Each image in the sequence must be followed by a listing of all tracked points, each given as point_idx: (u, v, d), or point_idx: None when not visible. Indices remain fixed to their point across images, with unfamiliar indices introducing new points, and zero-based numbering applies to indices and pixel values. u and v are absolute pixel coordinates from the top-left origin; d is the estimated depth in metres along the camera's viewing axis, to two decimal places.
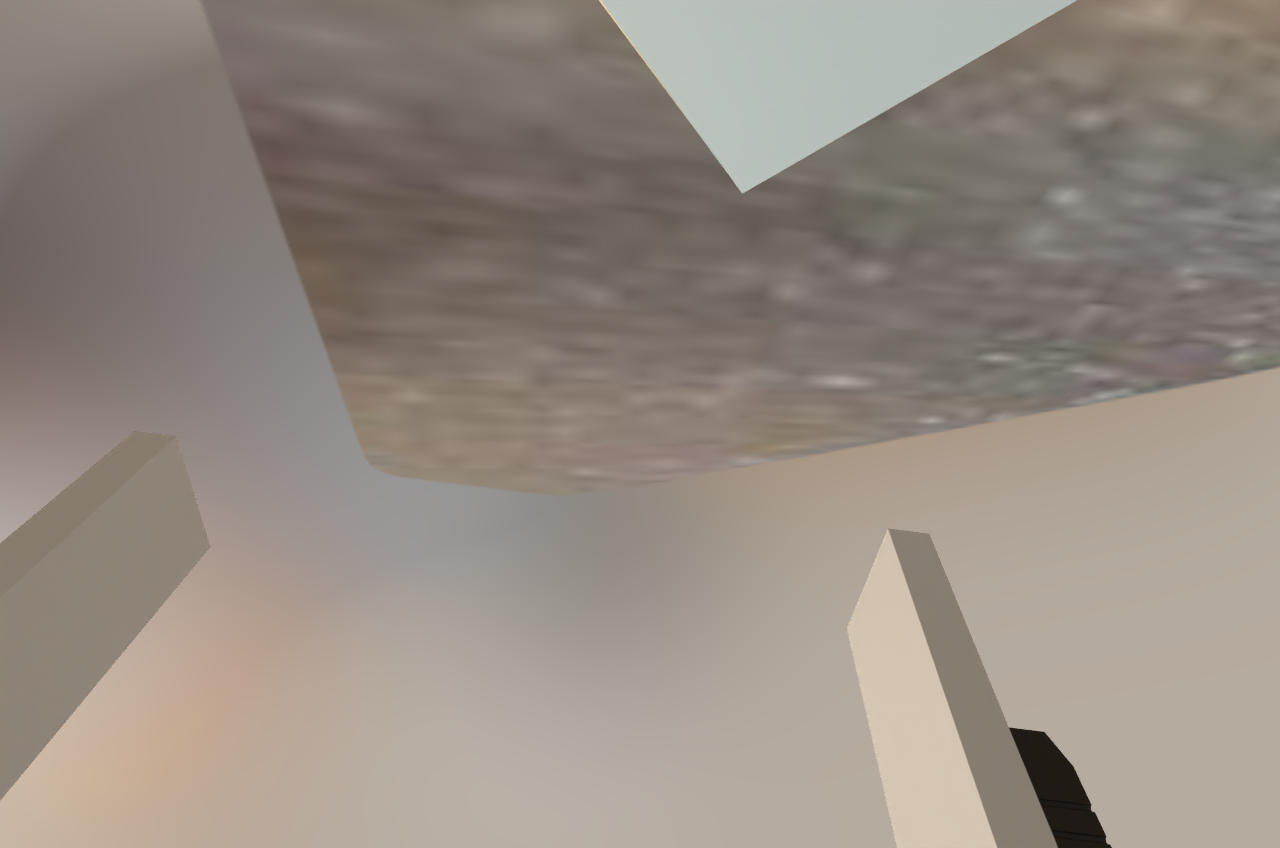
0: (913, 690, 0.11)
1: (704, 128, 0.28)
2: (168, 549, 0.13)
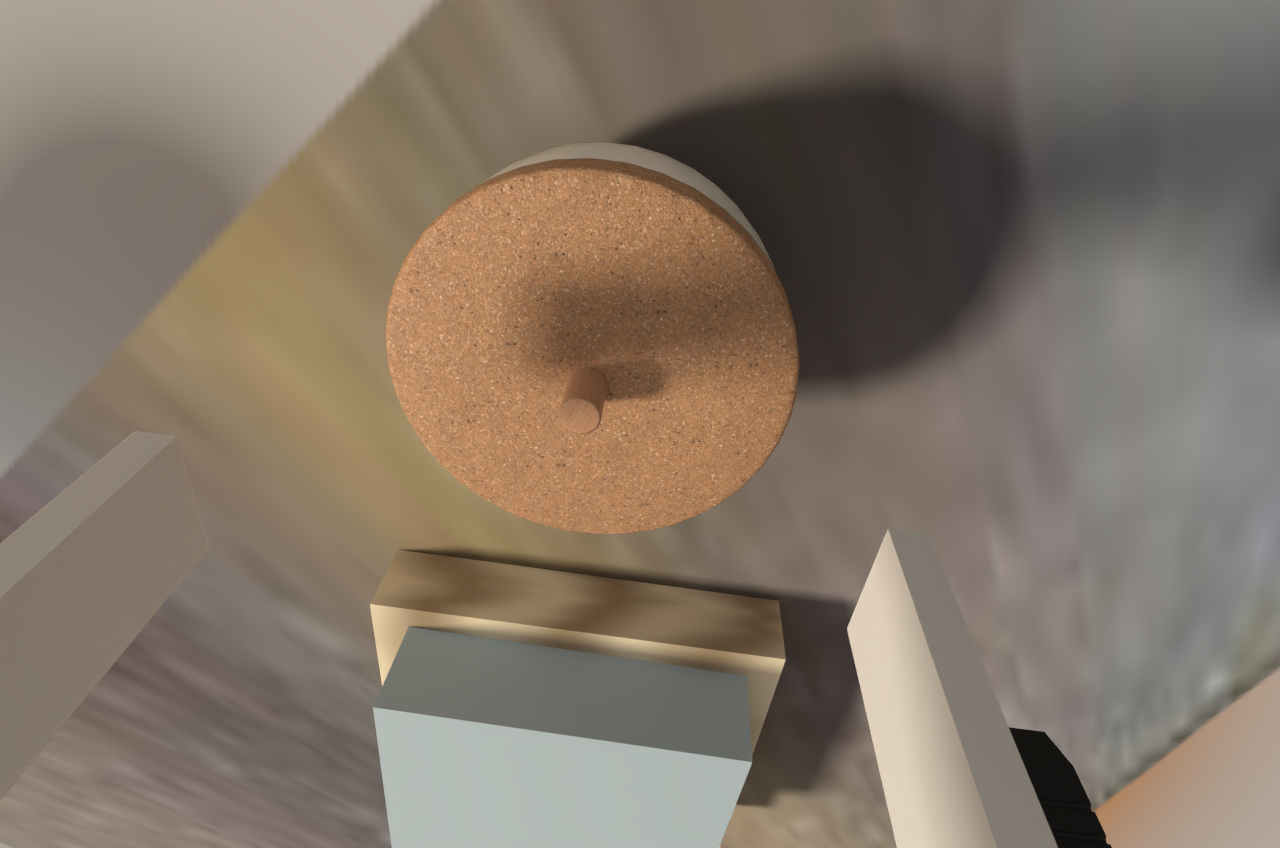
0: (913, 689, 0.11)
1: None
2: (168, 549, 0.13)
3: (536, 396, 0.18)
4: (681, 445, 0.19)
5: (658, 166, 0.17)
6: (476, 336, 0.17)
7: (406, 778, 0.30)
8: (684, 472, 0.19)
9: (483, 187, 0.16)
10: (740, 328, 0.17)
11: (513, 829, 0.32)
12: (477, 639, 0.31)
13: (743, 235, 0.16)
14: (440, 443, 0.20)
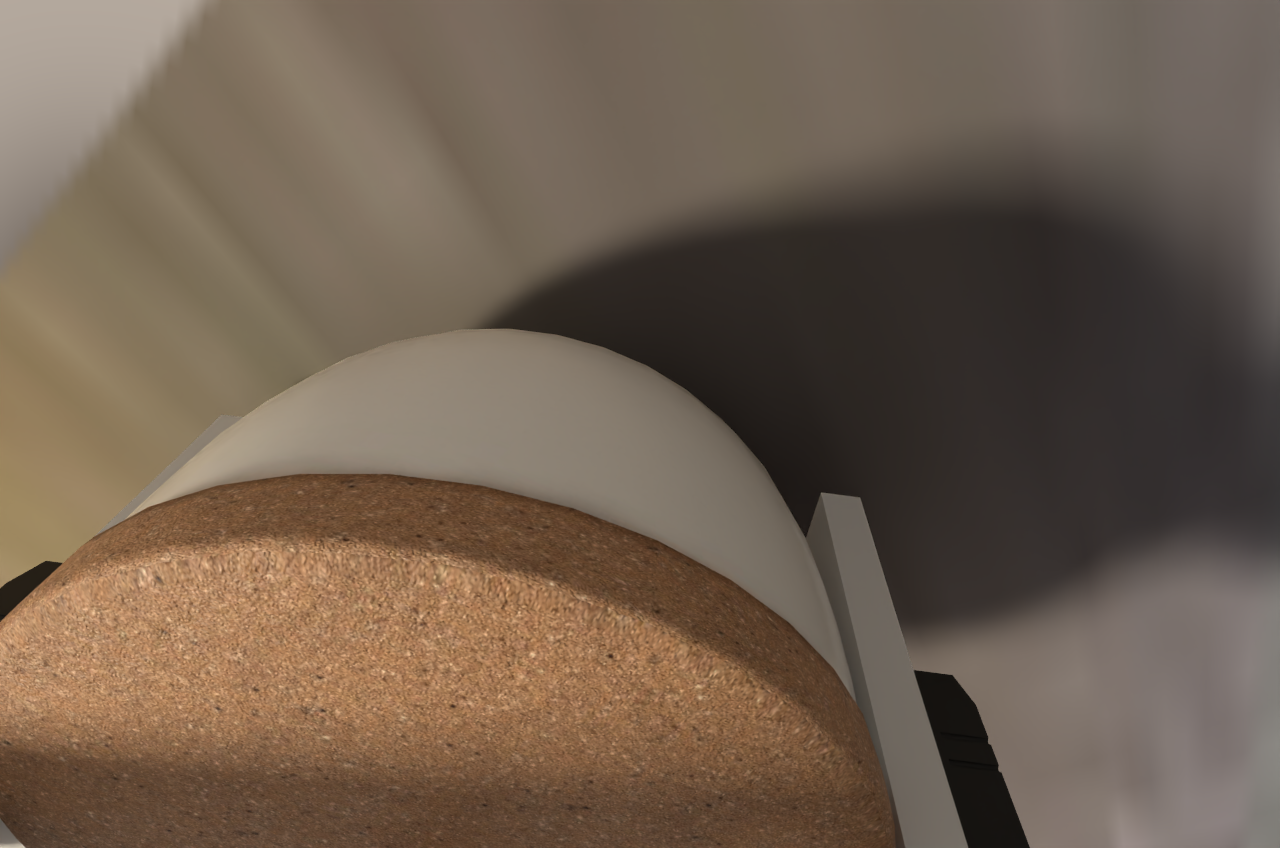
0: None
1: None
2: None
3: None
4: None
5: (570, 457, 0.07)
6: (167, 818, 0.08)
7: None
8: None
9: (96, 565, 0.06)
10: (768, 835, 0.07)
11: None
12: None
13: (778, 673, 0.06)
14: None
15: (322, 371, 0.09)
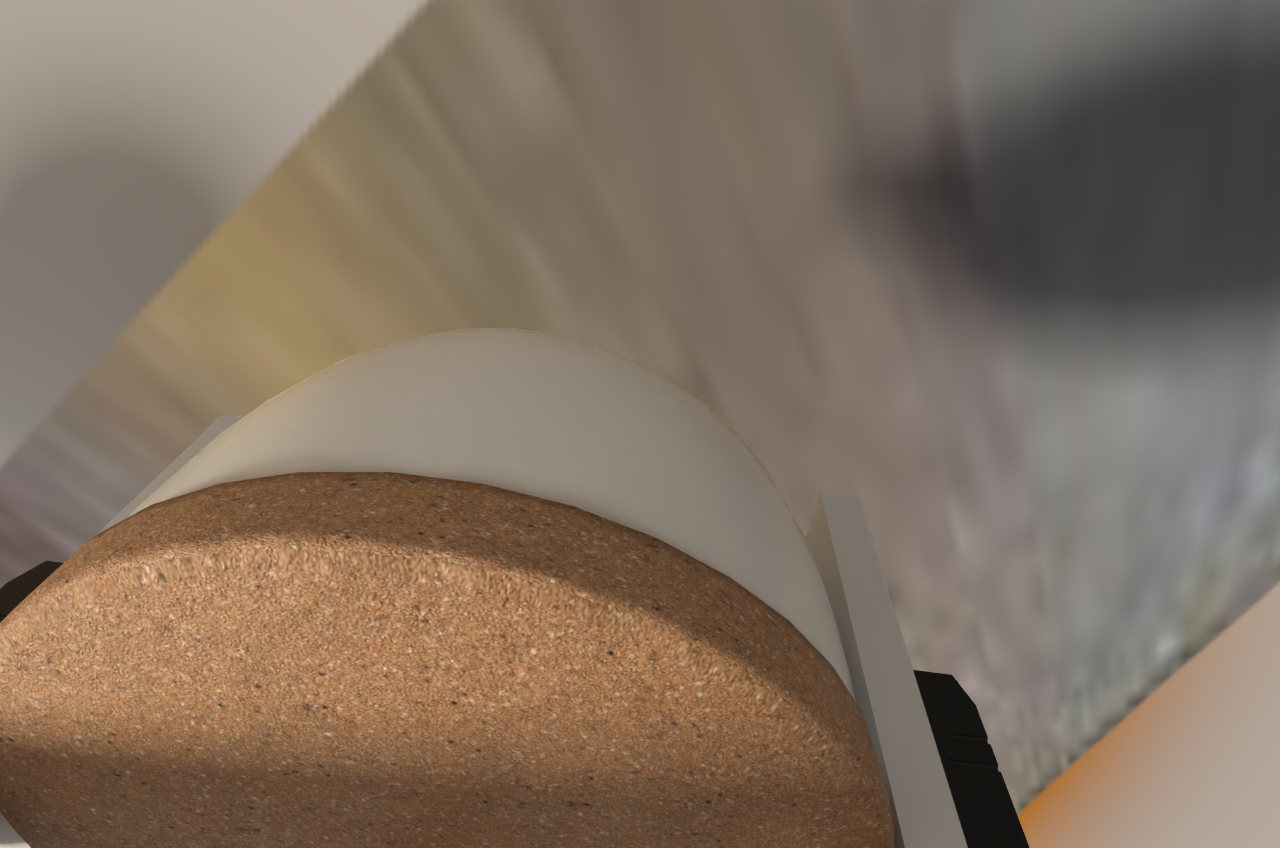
0: None
1: None
2: None
3: None
4: None
5: (571, 456, 0.07)
6: (169, 816, 0.08)
7: None
8: None
9: (100, 562, 0.06)
10: (767, 833, 0.07)
11: None
12: None
13: (777, 670, 0.06)
14: None
15: (323, 370, 0.09)
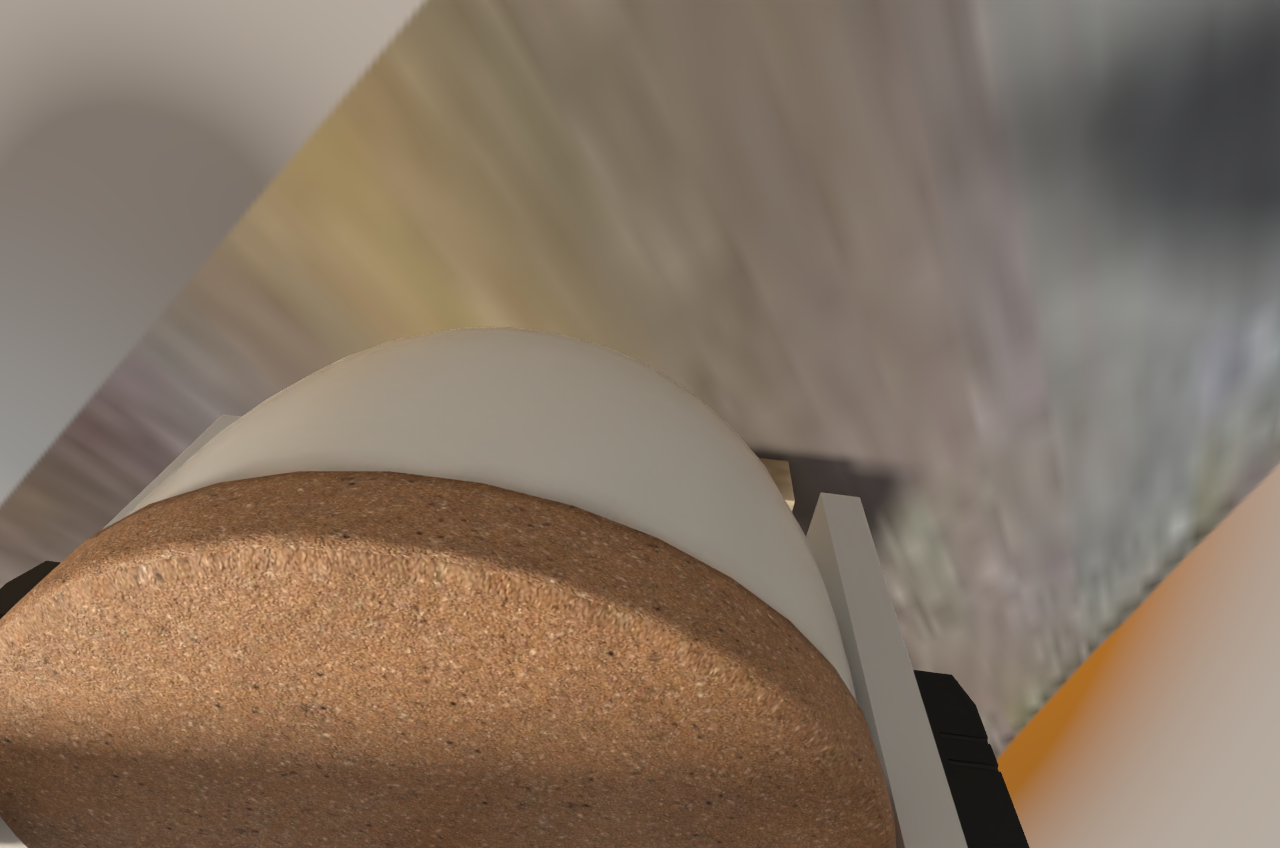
0: None
1: None
2: None
3: None
4: None
5: (570, 455, 0.07)
6: (167, 816, 0.08)
7: None
8: None
9: (96, 562, 0.06)
10: (768, 834, 0.07)
11: None
12: None
13: (778, 671, 0.06)
14: None
15: (322, 369, 0.09)
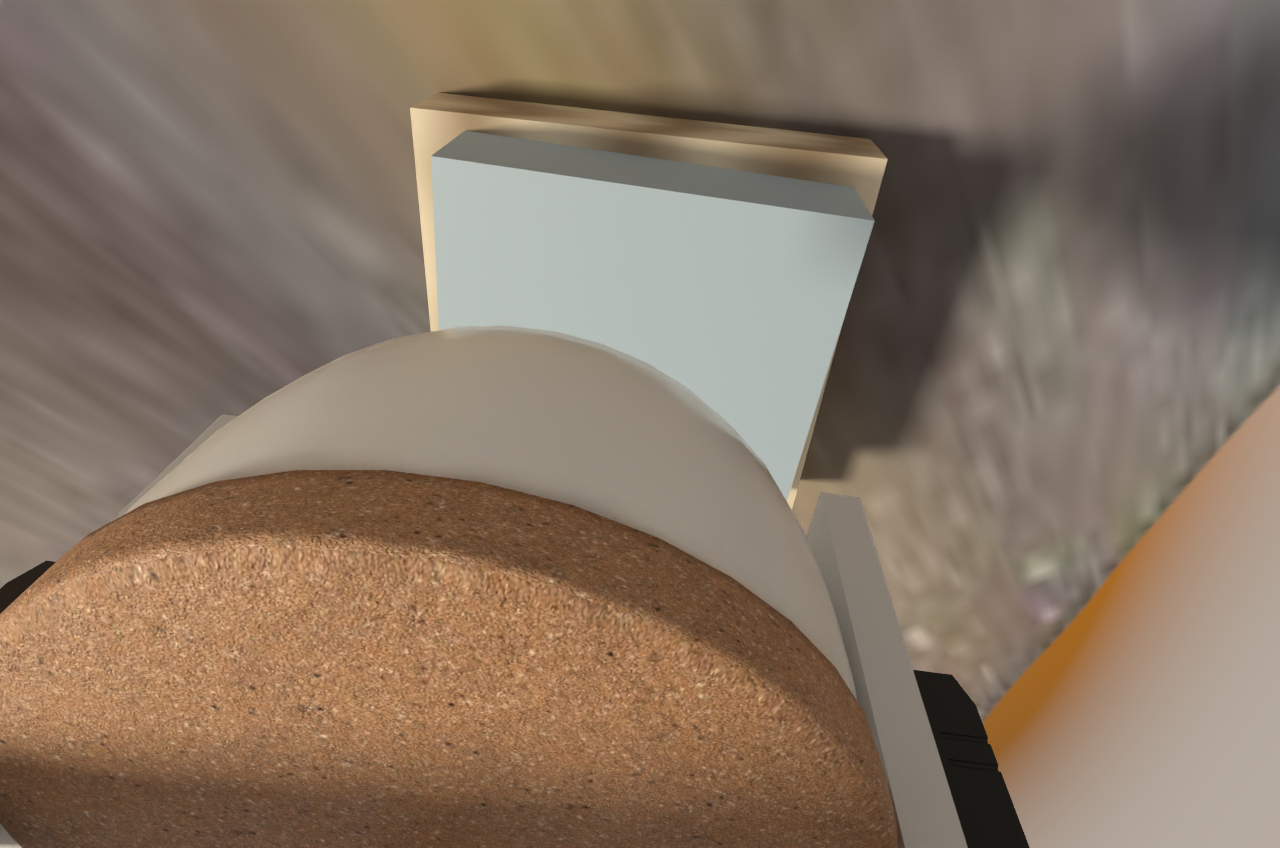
0: None
1: None
2: None
3: None
4: None
5: (571, 453, 0.07)
6: (164, 818, 0.08)
7: (465, 293, 0.26)
8: None
9: (91, 561, 0.06)
10: (768, 837, 0.07)
11: None
12: (544, 142, 0.27)
13: (779, 672, 0.06)
14: None
15: (320, 368, 0.09)
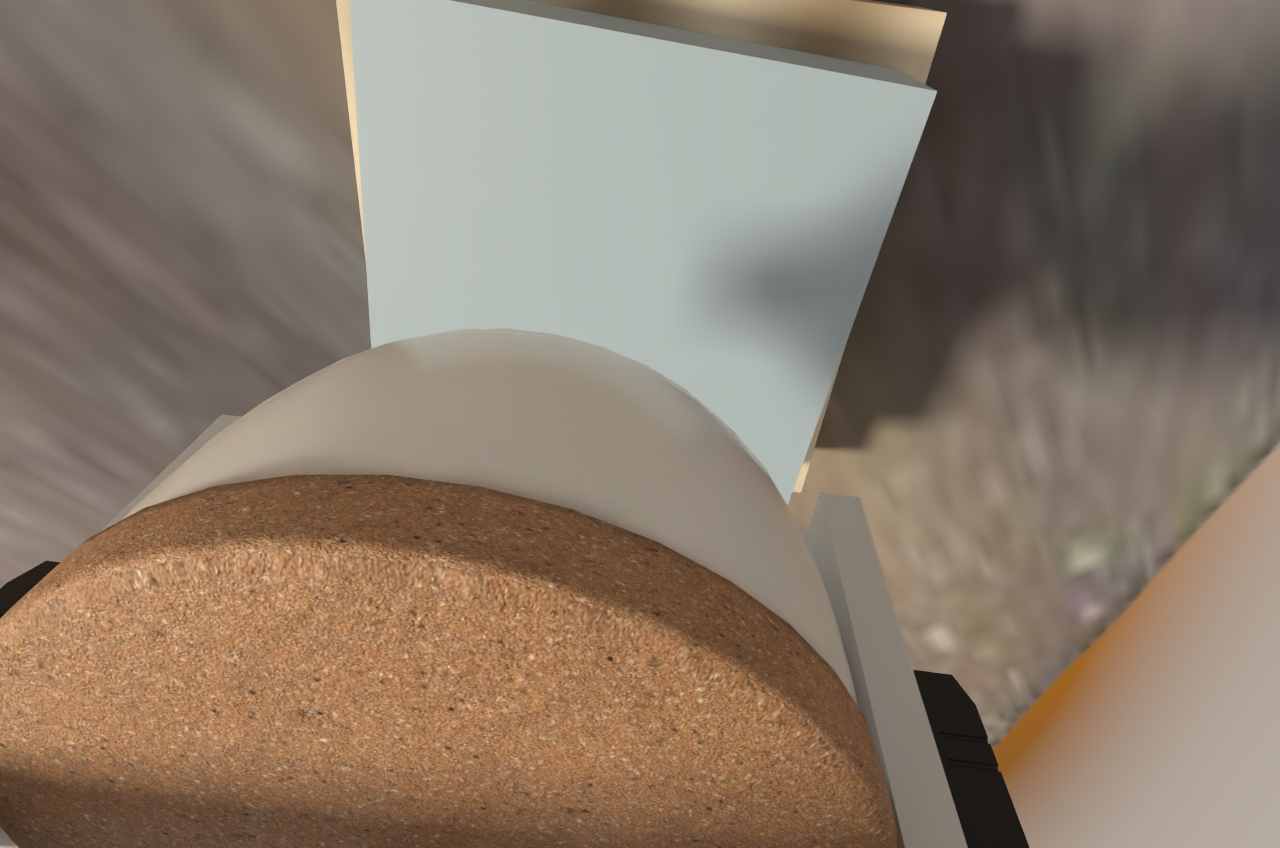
0: None
1: None
2: None
3: None
4: None
5: (570, 457, 0.07)
6: (163, 822, 0.08)
7: (398, 183, 0.20)
8: None
9: (91, 566, 0.06)
10: (768, 840, 0.07)
11: (551, 308, 0.22)
12: None
13: (779, 676, 0.06)
14: None
15: (320, 371, 0.09)
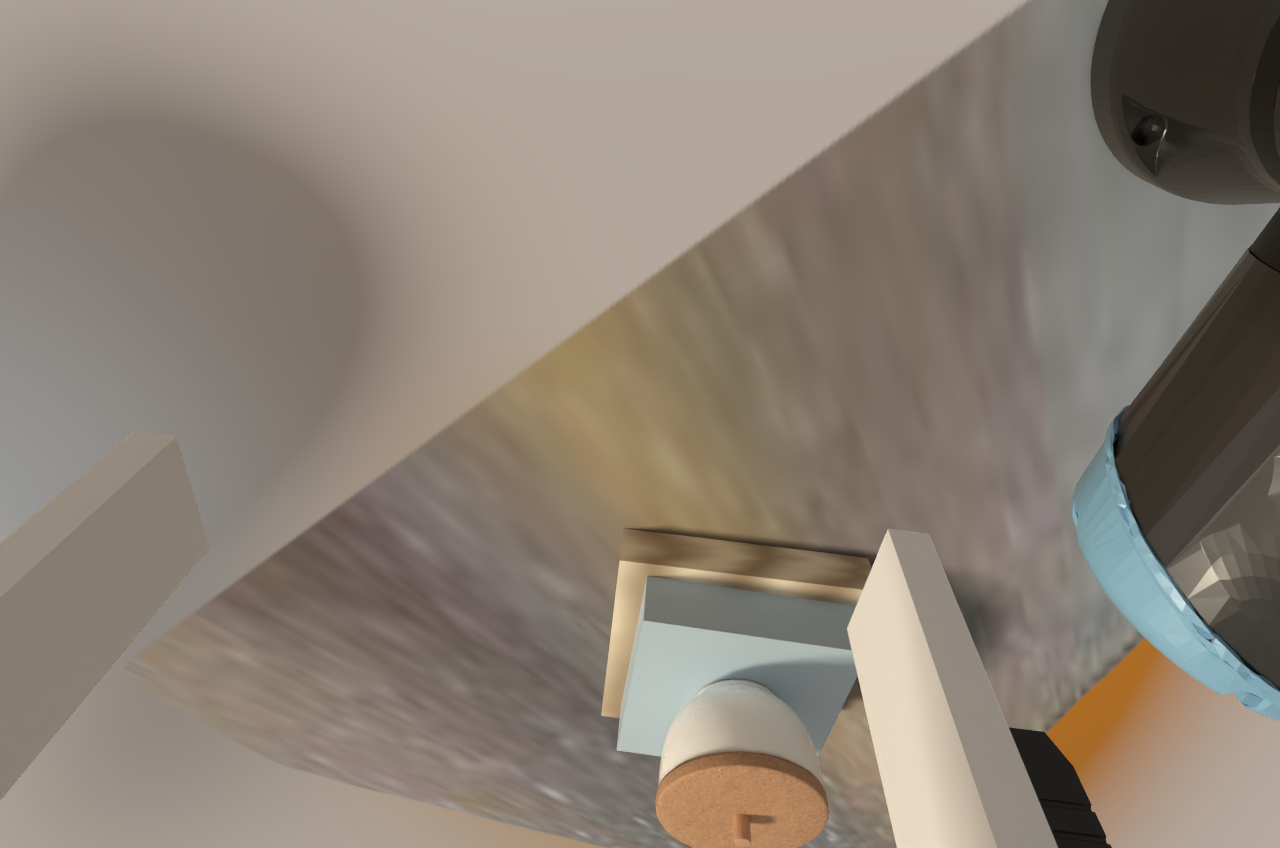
0: (912, 689, 0.11)
1: (626, 725, 0.52)
2: (168, 549, 0.13)
3: (719, 820, 0.44)
4: (778, 835, 0.45)
5: (773, 743, 0.43)
6: (698, 804, 0.43)
7: (649, 669, 0.49)
8: (778, 842, 0.45)
9: (709, 767, 0.41)
10: (806, 806, 0.43)
11: None
12: (690, 583, 0.49)
13: (808, 782, 0.42)
14: (672, 829, 0.45)
15: (711, 711, 0.45)
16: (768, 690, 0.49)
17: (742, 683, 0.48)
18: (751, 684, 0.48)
